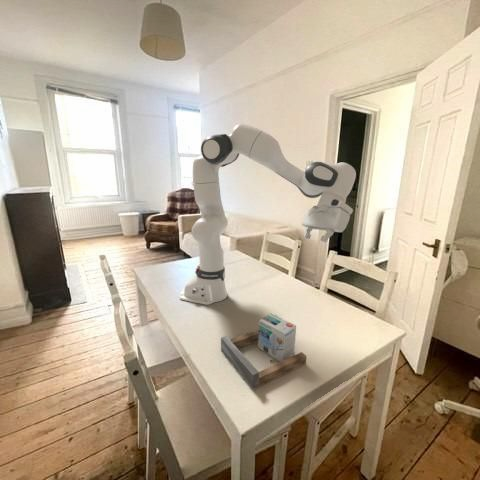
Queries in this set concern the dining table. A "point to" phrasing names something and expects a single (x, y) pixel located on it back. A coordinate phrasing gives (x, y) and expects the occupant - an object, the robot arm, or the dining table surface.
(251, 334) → the guide dock
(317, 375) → the dining table surface
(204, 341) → the dining table surface
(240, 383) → the dining table surface
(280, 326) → the light bulb box
